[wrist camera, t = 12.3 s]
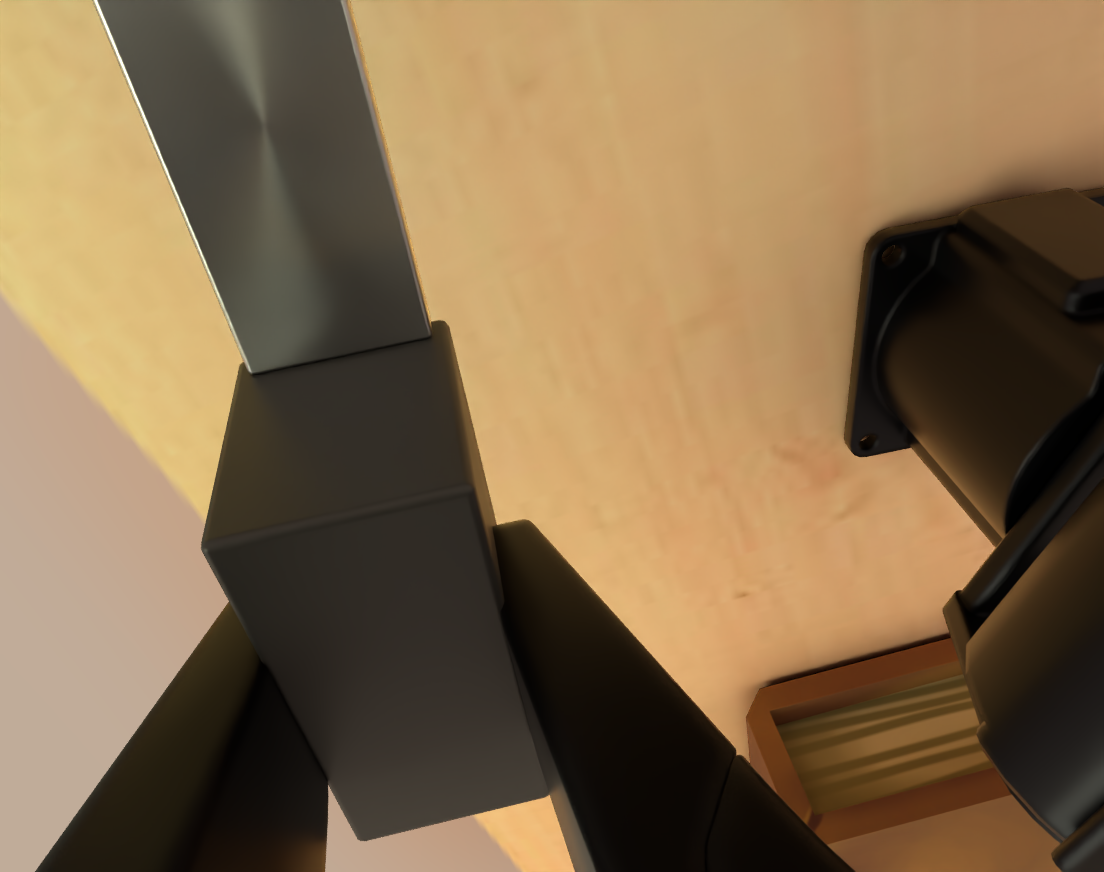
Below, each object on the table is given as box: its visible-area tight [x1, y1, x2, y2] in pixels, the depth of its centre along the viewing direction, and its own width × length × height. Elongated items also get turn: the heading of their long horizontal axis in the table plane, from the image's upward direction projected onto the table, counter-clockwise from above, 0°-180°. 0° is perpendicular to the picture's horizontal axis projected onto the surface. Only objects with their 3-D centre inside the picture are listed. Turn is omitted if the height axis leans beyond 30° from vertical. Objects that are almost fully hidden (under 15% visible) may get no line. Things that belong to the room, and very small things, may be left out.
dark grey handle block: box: [92, 0, 550, 841], centre depth 7 cm, size 9×2×3 cm, turn 8°
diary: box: [746, 638, 1062, 872], centre depth 35 cm, size 23×19×6 cm
